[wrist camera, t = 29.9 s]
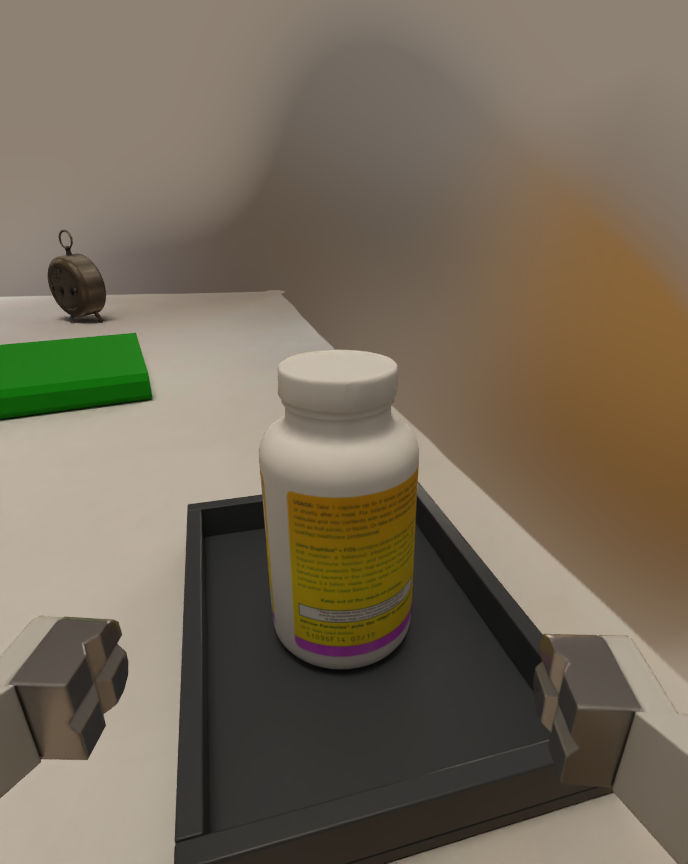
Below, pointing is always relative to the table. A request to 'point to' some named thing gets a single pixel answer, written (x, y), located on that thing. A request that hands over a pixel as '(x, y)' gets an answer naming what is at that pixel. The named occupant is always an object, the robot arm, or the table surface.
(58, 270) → the alarm clock
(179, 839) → the tray
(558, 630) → the table surface
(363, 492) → the supplement bottle
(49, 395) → the book
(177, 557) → the table surface
